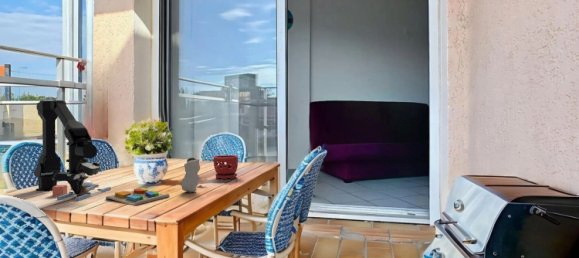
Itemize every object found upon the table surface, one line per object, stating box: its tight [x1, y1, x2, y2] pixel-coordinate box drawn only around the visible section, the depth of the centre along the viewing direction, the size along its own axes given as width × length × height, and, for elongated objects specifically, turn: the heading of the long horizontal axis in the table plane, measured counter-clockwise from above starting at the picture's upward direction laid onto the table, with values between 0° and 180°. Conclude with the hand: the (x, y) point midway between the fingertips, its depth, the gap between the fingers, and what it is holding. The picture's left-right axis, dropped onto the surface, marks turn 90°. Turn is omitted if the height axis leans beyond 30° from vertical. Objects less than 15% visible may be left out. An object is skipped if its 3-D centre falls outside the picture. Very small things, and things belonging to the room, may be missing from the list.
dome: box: [82, 179, 94, 187], centre depth 172 cm, size 6×6×2 cm
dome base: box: [70, 183, 100, 190], centre depth 173 cm, size 8×8×1 cm
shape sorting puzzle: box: [105, 187, 171, 206], centre depth 154 cm, size 18×19×4 cm
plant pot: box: [213, 154, 239, 180], centre depth 203 cm, size 13×13×12 cm
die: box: [52, 184, 68, 197], centre depth 158 cm, size 4×4×4 cm
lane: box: [56, 186, 112, 202], centre depth 159 cm, size 10×21×2 cm, turn 172°
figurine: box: [180, 157, 201, 193], centre depth 167 cm, size 9×10×15 cm
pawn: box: [76, 186, 90, 197], centre depth 158 cm, size 4×4×4 cm
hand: (77, 194), depth 154 cm, fingers closed
